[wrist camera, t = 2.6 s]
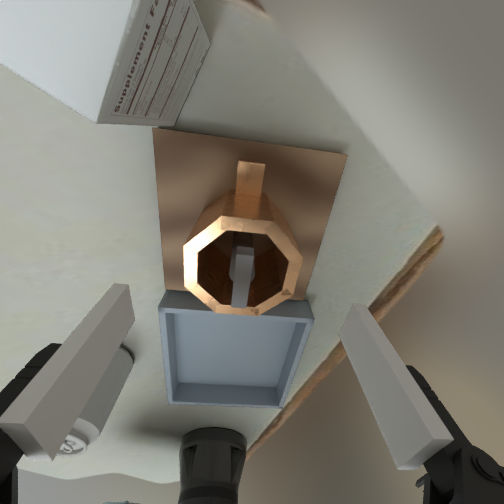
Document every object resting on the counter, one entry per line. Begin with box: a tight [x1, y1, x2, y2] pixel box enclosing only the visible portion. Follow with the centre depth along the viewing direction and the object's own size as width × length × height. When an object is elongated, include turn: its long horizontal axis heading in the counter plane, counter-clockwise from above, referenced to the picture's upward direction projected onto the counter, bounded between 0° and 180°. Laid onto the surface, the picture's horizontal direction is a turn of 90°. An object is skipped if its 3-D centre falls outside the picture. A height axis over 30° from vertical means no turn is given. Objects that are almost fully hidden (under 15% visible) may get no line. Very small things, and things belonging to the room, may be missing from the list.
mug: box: [183, 159, 303, 316], centre depth 20 cm, size 12×9×8 cm
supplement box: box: [0, 0, 210, 126], centre depth 13 cm, size 7×7×13 cm
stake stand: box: [152, 128, 348, 309], centre depth 21 cm, size 18×18×11 cm
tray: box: [158, 289, 314, 409], centre depth 34 cm, size 22×20×4 cm
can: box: [56, 346, 133, 457], centre depth 31 cm, size 8×8×12 cm
